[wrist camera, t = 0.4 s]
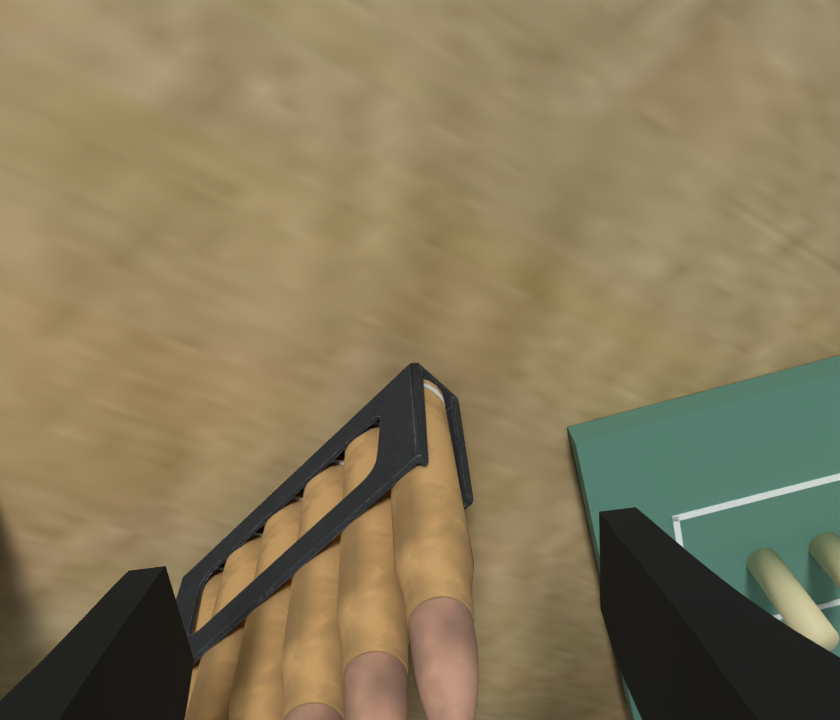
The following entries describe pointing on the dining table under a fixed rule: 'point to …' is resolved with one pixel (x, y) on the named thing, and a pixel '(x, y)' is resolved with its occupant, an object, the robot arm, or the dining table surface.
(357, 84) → the dining table surface
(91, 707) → the robot arm
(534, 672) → the dining table surface
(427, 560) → the ammunition clip
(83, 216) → the dining table surface
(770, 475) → the board
